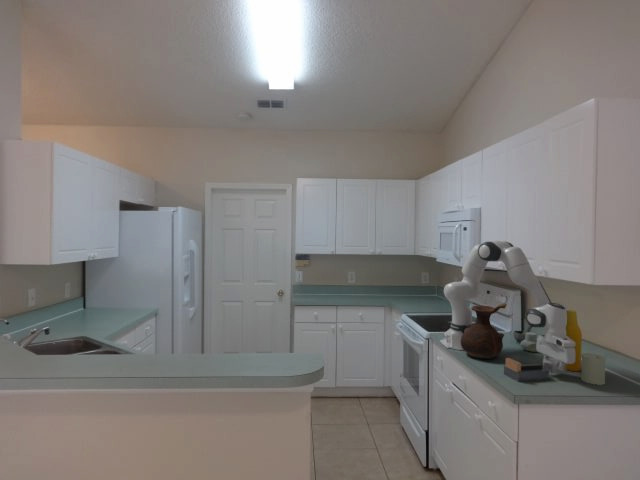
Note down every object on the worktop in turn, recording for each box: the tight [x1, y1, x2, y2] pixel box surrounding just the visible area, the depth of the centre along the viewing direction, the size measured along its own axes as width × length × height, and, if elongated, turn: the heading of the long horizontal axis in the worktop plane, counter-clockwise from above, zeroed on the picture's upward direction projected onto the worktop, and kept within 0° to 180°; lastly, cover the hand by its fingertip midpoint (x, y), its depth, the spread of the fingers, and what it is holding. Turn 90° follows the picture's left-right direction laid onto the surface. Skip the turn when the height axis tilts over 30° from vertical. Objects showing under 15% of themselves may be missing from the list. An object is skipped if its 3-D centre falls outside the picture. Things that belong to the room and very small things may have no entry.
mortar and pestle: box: [512, 323, 533, 345], centre depth 246 cm, size 11×9×12 cm
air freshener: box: [519, 331, 538, 353], centre depth 231 cm, size 11×8×10 cm
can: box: [580, 352, 607, 386], centre depth 183 cm, size 9×9×12 cm
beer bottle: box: [565, 309, 583, 372], centre depth 200 cm, size 9×9×29 cm
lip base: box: [503, 357, 550, 383], centre depth 187 cm, size 16×10×8 cm, turn 102°
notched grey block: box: [542, 357, 566, 374], centre depth 188 cm, size 7×6×5 cm
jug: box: [461, 303, 507, 360], centre depth 219 cm, size 22×22×30 cm
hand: (554, 367), depth 189 cm, fingers closed on notched grey block, 6 cm apart
